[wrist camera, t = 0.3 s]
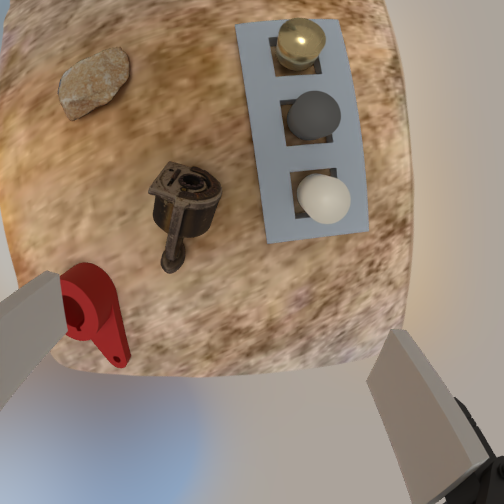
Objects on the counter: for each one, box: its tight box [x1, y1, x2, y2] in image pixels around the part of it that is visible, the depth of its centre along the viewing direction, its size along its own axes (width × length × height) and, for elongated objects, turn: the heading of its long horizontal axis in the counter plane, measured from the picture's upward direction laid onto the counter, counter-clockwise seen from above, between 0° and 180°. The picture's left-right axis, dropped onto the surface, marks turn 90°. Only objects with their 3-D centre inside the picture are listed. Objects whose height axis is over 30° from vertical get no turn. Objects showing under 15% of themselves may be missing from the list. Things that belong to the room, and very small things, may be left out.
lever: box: [60, 263, 131, 368], centre depth 37 cm, size 18×9×7 cm, turn 14°
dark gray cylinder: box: [287, 91, 341, 140], centre depth 25 cm, size 4×4×5 cm
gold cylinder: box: [276, 18, 326, 71], centre depth 23 cm, size 4×4×5 cm
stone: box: [58, 47, 129, 121], centre depth 26 cm, size 8×10×4 cm
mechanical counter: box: [148, 161, 222, 274], centre depth 30 cm, size 7×13×10 cm, turn 175°
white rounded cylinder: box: [297, 174, 351, 224], centre depth 28 cm, size 4×4×5 cm
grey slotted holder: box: [235, 19, 369, 244], centre depth 29 cm, size 26×12×3 cm, turn 8°
